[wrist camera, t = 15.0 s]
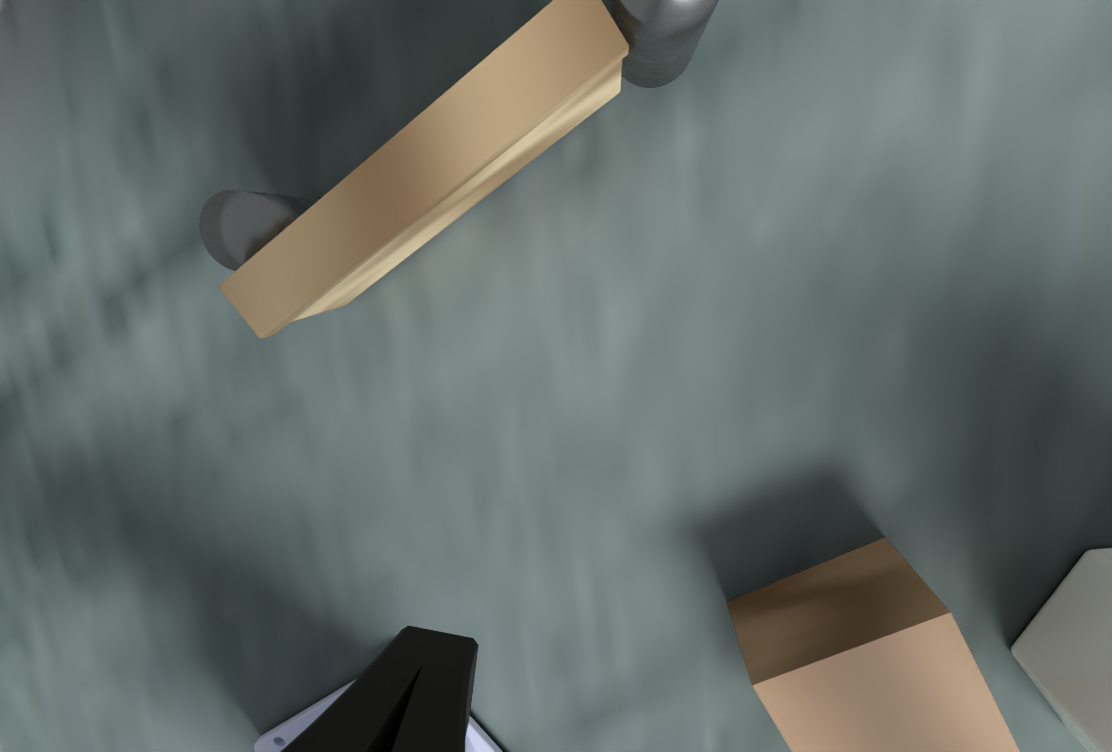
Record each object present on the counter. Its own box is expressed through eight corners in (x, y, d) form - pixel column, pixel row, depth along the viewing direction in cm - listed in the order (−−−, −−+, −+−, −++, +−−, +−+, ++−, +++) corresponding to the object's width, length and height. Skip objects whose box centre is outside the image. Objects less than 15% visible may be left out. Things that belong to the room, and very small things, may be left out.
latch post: (324, 272, 18) (238, 287, 14) (284, 223, 18) (184, 223, 14) (366, 236, 18) (290, 240, 14) (326, 185, 17) (235, 173, 13)
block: (794, 713, 21) (833, 819, 18) (725, 598, 20) (752, 685, 17) (946, 660, 20) (1025, 762, 16) (882, 534, 19) (951, 612, 15)
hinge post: (641, 106, 16) (656, 47, 11) (594, 33, 16) (584, -64, 10) (711, 49, 15) (764, -43, 10) (663, -28, 15) (692, -165, 10)
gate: (593, 48, 15) (585, -28, 11) (623, 98, 16) (628, 45, 11) (318, 270, 18) (218, 286, 13) (349, 309, 18) (260, 338, 14)
